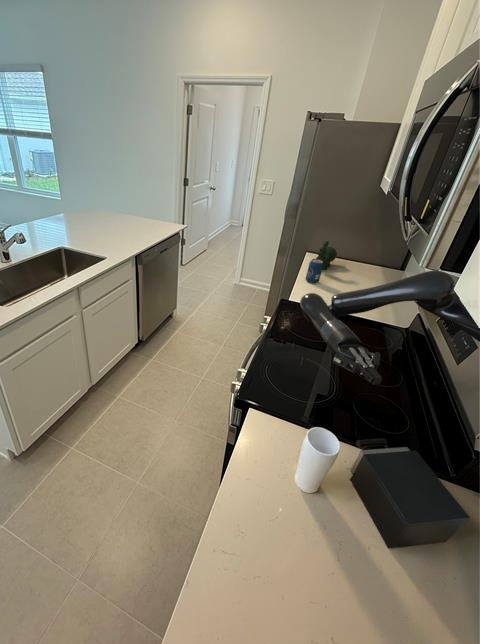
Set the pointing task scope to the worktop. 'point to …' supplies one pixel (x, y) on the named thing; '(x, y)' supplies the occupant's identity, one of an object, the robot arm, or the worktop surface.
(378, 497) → the cabinet
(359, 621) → the worktop surface
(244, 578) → the worktop surface
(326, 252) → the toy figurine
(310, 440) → the drinking glass
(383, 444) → the drawer
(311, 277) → the soda can
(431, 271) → the robot arm
